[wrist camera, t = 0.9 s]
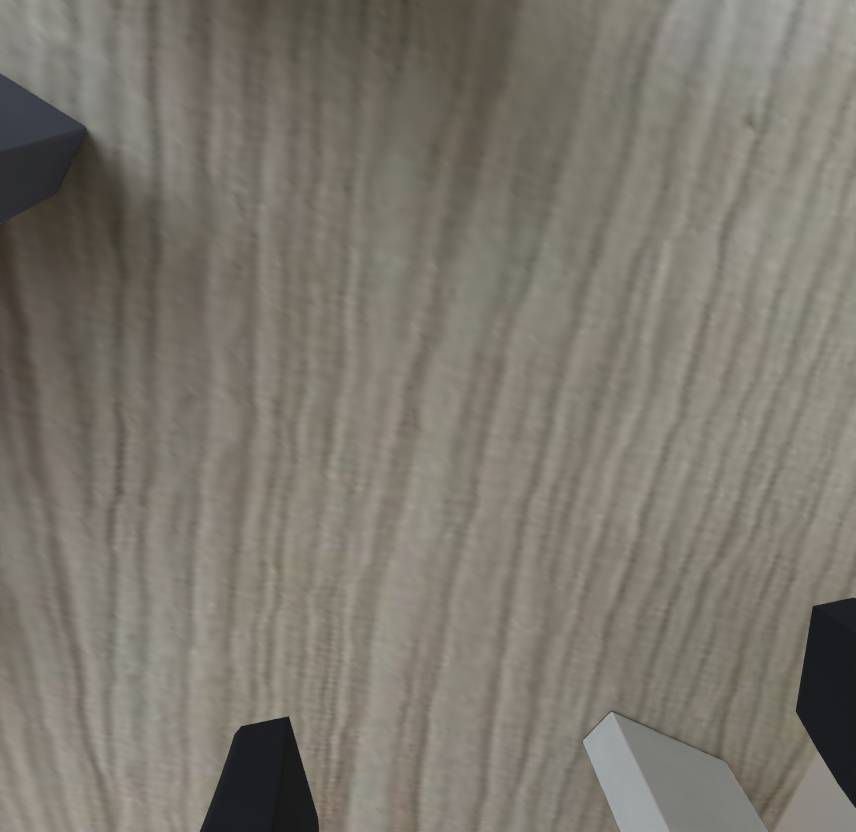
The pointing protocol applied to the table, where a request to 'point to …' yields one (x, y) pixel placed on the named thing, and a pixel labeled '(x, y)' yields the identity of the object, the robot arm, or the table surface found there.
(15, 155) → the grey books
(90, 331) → the table surface
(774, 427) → the table surface
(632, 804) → the cream blocks
